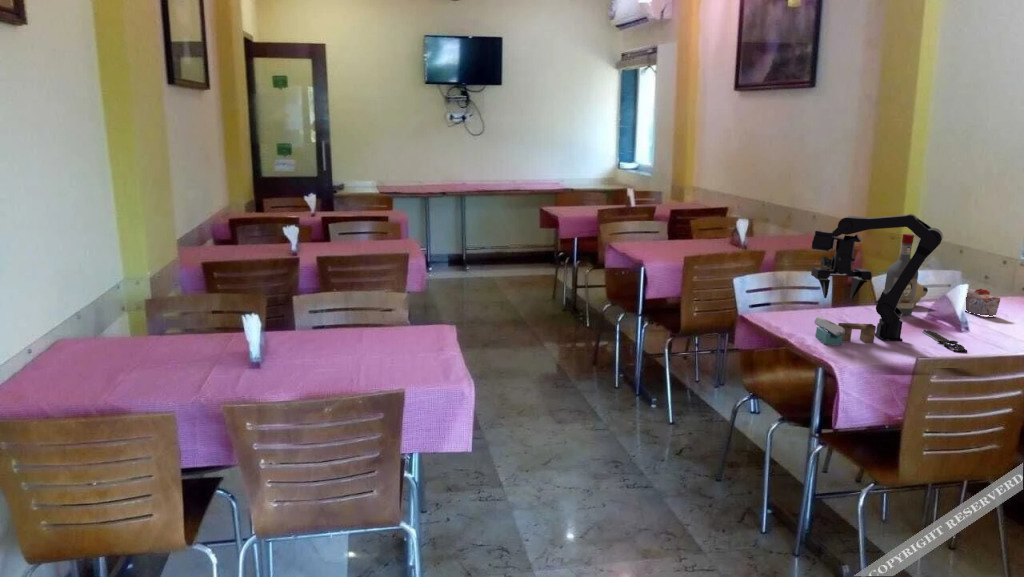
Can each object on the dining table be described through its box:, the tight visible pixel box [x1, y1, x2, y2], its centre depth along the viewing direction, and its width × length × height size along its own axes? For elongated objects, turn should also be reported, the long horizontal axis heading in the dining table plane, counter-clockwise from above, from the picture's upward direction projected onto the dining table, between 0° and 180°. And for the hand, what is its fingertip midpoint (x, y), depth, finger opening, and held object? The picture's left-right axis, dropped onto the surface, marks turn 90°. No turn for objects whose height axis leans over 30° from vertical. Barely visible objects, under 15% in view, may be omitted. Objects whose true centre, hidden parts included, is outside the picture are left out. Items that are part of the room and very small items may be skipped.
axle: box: [814, 316, 845, 337], centre depth 251 cm, size 3×16×3 cm, turn 0°
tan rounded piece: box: [913, 281, 929, 308], centre depth 303 cm, size 10×12×11 cm
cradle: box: [815, 326, 843, 346], centre depth 251 cm, size 5×8×4 cm, turn 0°
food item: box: [966, 288, 1001, 316], centre depth 293 cm, size 14×8×10 cm, turn 12°
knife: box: [921, 329, 968, 354], centre depth 256 cm, size 25×6×1 cm, turn 171°
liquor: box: [884, 233, 919, 317], centre depth 288 cm, size 9×9×30 cm
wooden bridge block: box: [837, 322, 877, 343], centre depth 252 cm, size 11×3×5 cm, turn 90°
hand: (838, 298), depth 263 cm, fingers open, 9 cm apart
